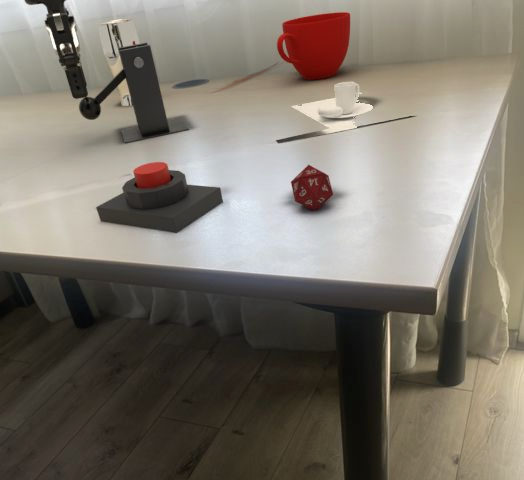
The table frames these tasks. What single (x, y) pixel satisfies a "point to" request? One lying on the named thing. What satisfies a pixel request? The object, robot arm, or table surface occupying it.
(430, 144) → the table surface
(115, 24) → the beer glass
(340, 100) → the teacup and saucer
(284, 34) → the ceramic cup
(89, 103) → the switch lever
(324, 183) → the dice
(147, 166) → the stop button
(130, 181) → the grey button base
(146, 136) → the switch bracket
